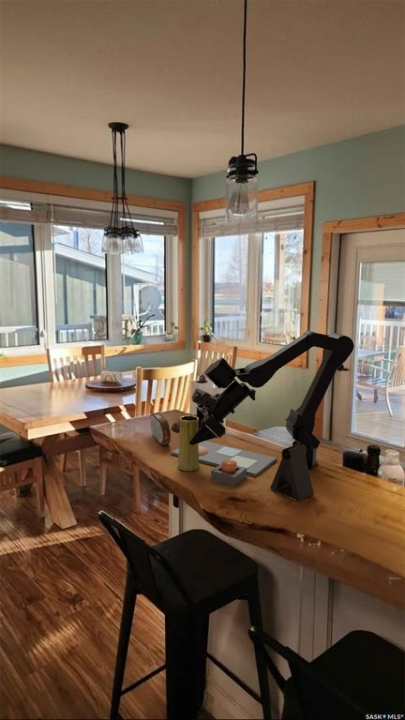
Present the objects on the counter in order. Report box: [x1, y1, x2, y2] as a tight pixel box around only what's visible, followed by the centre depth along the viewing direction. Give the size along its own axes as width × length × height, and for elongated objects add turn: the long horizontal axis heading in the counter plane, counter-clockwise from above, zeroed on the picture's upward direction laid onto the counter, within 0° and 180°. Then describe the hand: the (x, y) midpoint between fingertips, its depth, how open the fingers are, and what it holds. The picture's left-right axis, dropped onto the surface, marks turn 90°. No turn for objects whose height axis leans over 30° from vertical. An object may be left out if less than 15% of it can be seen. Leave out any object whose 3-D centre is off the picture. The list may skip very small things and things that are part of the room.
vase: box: [177, 415, 200, 472], centre depth 131 cm, size 6×6×14 cm
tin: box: [149, 411, 172, 445], centre depth 153 cm, size 15×3×8 cm, turn 22°
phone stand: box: [269, 443, 315, 502], centre depth 118 cm, size 9×6×12 cm, turn 41°
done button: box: [222, 460, 237, 473], centre depth 125 cm, size 4×4×2 cm
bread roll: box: [170, 414, 196, 432], centre depth 167 cm, size 13×12×5 cm
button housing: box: [210, 464, 247, 487], centre depth 126 cm, size 7×7×2 cm
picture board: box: [170, 440, 278, 477], centre depth 140 cm, size 28×14×1 cm, turn 58°
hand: (188, 438), depth 131 cm, fingers open, 9 cm apart
